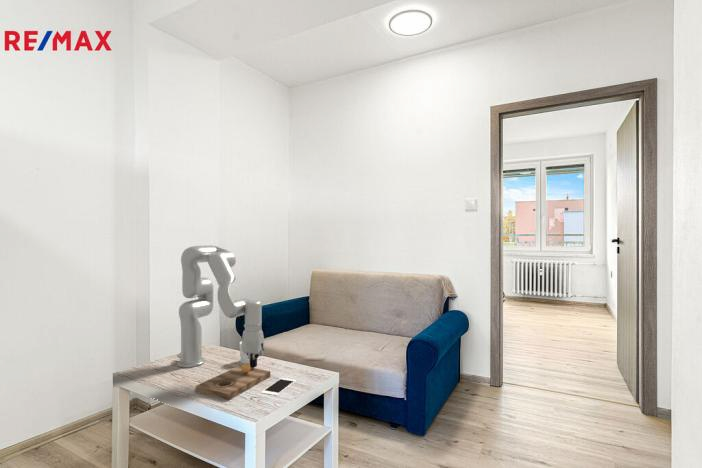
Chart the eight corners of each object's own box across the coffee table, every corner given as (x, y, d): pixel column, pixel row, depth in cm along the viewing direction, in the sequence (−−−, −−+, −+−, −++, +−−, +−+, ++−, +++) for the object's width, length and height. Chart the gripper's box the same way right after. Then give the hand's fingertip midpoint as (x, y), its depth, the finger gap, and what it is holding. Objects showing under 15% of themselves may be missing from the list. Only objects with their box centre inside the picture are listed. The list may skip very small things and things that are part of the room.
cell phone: (260, 393, 148) (260, 392, 148) (281, 379, 163) (281, 377, 163) (276, 396, 145) (276, 395, 145) (296, 381, 160) (296, 380, 160)
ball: (239, 373, 162) (239, 364, 162) (245, 370, 165) (245, 361, 165) (246, 374, 160) (246, 365, 160) (252, 371, 164) (252, 362, 164)
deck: (240, 370, 172) (240, 365, 172) (270, 376, 164) (270, 371, 164) (195, 391, 148) (195, 385, 148) (228, 400, 141) (228, 394, 141)
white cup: (236, 362, 182) (236, 343, 182) (247, 357, 189) (247, 339, 189) (247, 365, 179) (247, 345, 179) (258, 360, 186) (258, 341, 186)
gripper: (235, 327, 167) (235, 367, 167) (261, 331, 161) (261, 372, 161) (246, 324, 174) (246, 362, 174) (271, 327, 168) (271, 366, 168)
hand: (253, 366), depth 167 cm, fingers closed
